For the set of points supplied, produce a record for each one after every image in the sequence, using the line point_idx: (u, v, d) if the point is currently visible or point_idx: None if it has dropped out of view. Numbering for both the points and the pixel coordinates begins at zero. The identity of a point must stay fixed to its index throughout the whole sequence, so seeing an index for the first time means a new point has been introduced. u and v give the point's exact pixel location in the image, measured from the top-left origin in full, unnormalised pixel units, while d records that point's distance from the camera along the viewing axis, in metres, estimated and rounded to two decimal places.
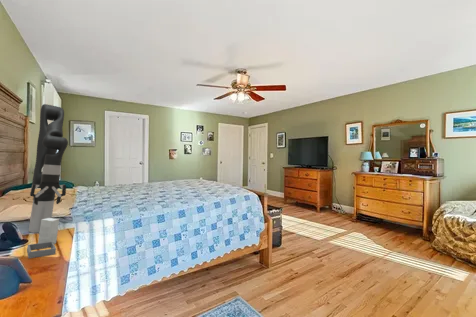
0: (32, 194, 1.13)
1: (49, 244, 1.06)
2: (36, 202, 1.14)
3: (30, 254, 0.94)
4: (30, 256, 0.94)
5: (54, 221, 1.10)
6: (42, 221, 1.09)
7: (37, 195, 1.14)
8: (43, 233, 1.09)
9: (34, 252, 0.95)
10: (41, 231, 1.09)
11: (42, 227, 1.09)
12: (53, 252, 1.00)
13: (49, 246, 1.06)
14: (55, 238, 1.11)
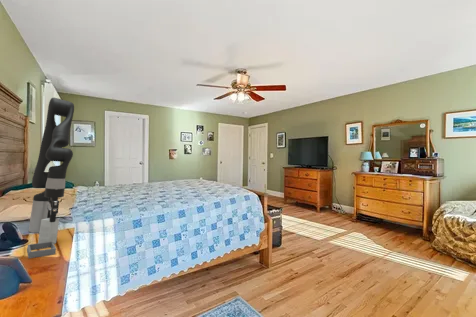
0: (57, 211, 1.08)
1: (49, 244, 1.06)
2: (55, 219, 1.09)
3: (30, 254, 0.94)
4: (30, 256, 0.94)
5: None
6: (42, 221, 1.09)
7: None
8: (43, 233, 1.09)
9: (34, 252, 0.95)
10: (41, 231, 1.09)
11: (42, 227, 1.09)
12: (53, 252, 1.00)
13: (49, 246, 1.06)
14: (55, 238, 1.11)
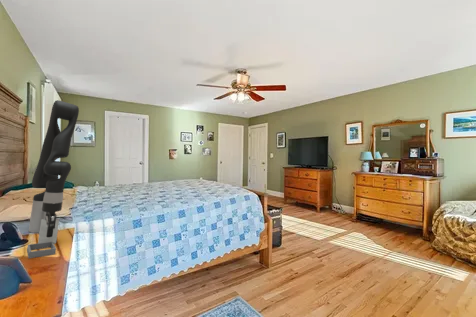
0: (54, 226, 1.07)
1: (49, 244, 1.06)
2: (52, 234, 1.08)
3: (30, 254, 0.94)
4: (30, 256, 0.94)
5: None
6: (42, 221, 1.09)
7: None
8: (43, 233, 1.09)
9: (34, 252, 0.95)
10: (41, 231, 1.09)
11: (42, 227, 1.09)
12: (53, 252, 1.00)
13: (49, 246, 1.06)
14: (55, 238, 1.11)
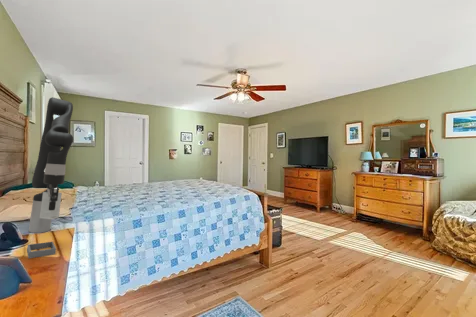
0: None
1: (49, 244, 1.06)
2: (54, 207, 1.03)
3: (30, 254, 0.94)
4: (30, 256, 0.94)
5: None
6: (44, 194, 1.04)
7: (56, 199, 1.04)
8: (45, 207, 1.04)
9: (34, 252, 0.95)
10: (43, 204, 1.04)
11: (44, 200, 1.04)
12: (53, 252, 1.00)
13: (49, 246, 1.06)
14: (58, 212, 1.06)
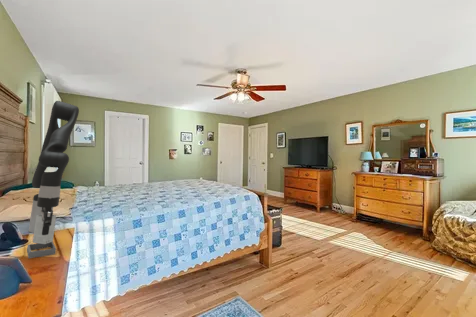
0: None
1: (49, 244, 1.06)
2: (48, 231, 0.99)
3: (30, 254, 0.94)
4: (30, 256, 0.94)
5: None
6: (37, 217, 1.00)
7: None
8: (38, 231, 0.99)
9: (34, 252, 0.95)
10: (36, 228, 0.99)
11: (37, 224, 0.99)
12: (53, 252, 1.00)
13: (49, 246, 1.06)
14: (52, 236, 1.02)
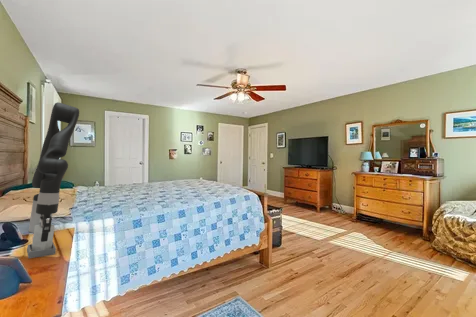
0: None
1: None
2: (47, 238, 0.98)
3: (30, 254, 0.94)
4: (30, 256, 0.94)
5: None
6: (36, 227, 1.00)
7: None
8: (37, 241, 0.99)
9: (34, 252, 0.95)
10: (34, 238, 0.99)
11: (36, 234, 0.99)
12: (53, 252, 1.00)
13: None
14: (50, 246, 1.02)
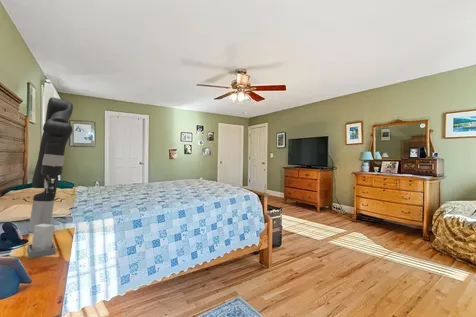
0: (54, 190, 1.00)
1: None
2: (51, 198, 1.01)
3: (30, 254, 0.94)
4: (30, 256, 0.94)
5: (49, 227, 1.00)
6: (36, 227, 1.00)
7: None
8: (37, 241, 0.99)
9: (34, 252, 0.95)
10: (34, 238, 0.99)
11: (36, 234, 0.99)
12: (53, 252, 1.00)
13: None
14: (50, 246, 1.02)
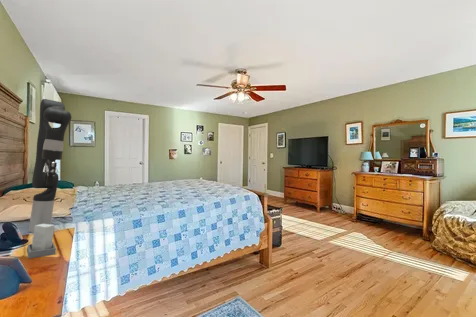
0: (55, 173, 1.05)
1: None
2: (52, 181, 1.06)
3: (30, 254, 0.94)
4: (30, 256, 0.94)
5: (49, 227, 1.00)
6: (36, 227, 1.00)
7: None
8: (37, 241, 0.99)
9: (34, 252, 0.95)
10: (34, 238, 0.99)
11: (36, 234, 0.99)
12: (53, 252, 1.00)
13: None
14: (50, 246, 1.02)
